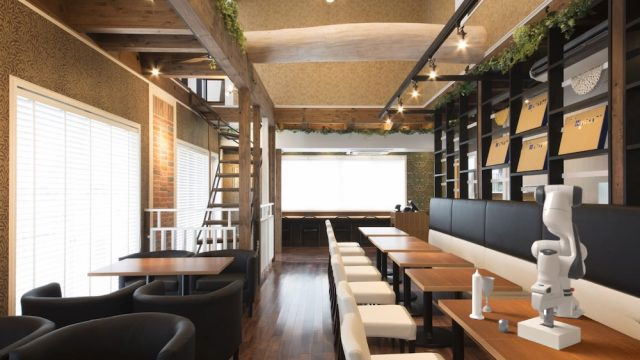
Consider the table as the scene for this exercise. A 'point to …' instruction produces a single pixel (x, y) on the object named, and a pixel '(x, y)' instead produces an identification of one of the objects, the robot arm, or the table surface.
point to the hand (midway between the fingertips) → (548, 317)
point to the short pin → (503, 325)
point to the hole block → (549, 333)
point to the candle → (477, 296)
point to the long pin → (549, 317)
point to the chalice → (487, 290)
